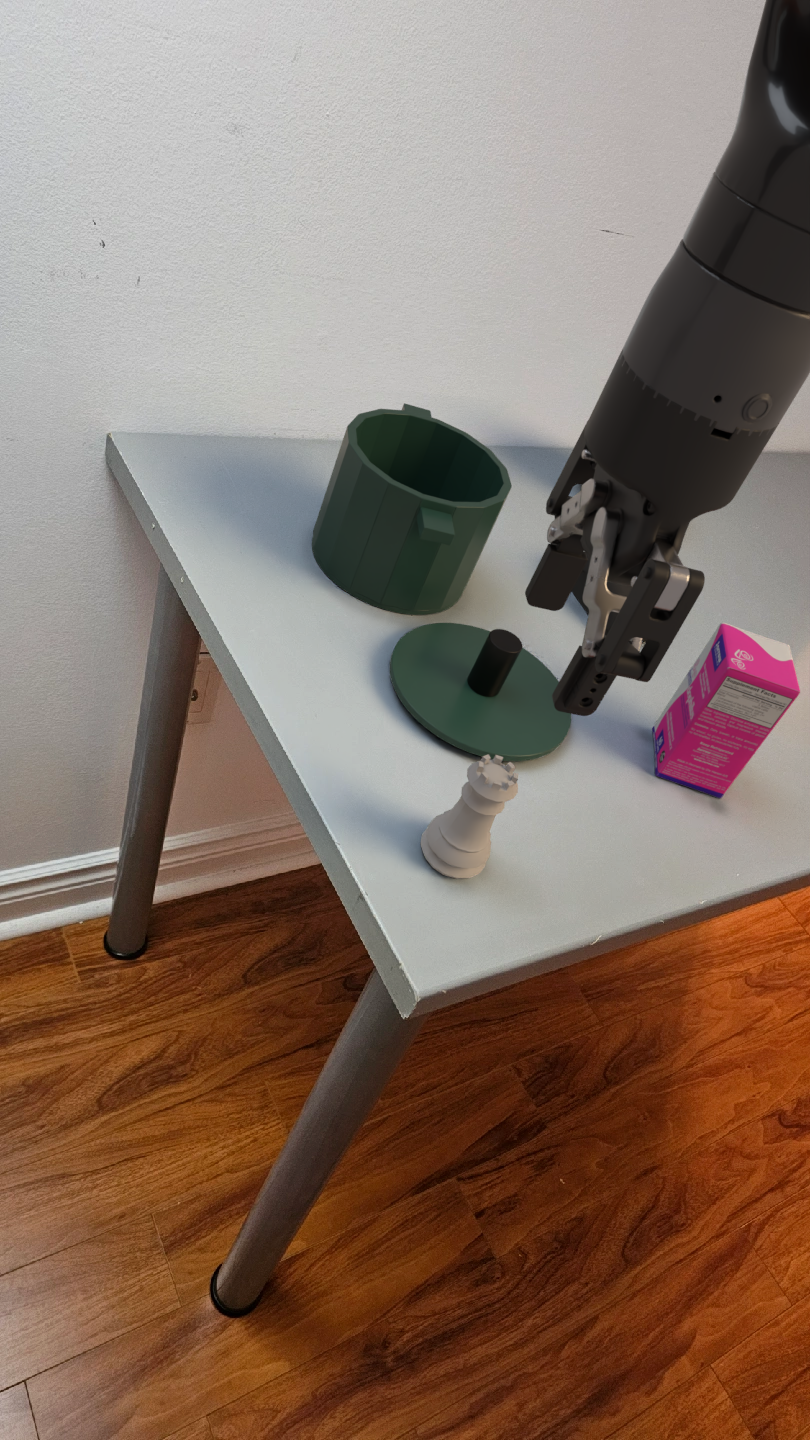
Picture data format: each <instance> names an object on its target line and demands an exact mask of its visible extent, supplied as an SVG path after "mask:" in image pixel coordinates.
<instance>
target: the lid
mask: <svg viewBox="0 0 810 1440" xmlns="http://www.w3.org/2000/svg"><path fill="white" fill-rule="evenodd" d="M389 676H390V682H391V684H392V687H393V689H394V692H395V693H396V695H397V698H398V699H399V701H400V702H401V704H402V705H403V706H404V708H405V709H406V710H407V712H408V713H409V714H410V715H411V716H412V717H413V718H414V719H415V720H416V721H417V722H418V723H419V724H421V725H422V727H424V728H425V729H427V730H428V731H429V732H430V733H432V734H433V735H434V736H436V737H437V738H440V740H442V741H444V742H446V743H448V744H450V745H451V746H452V747H453V746H454V747H455V748H457V749H459V750H462V751H464V752H467V753H469V754H471V755H475V756H479V757H481V758H482V757H483V756H485V755H488V754H489V756H490V757H491V758H490V760H493V759H494V757H495V755H498V756H501V757H503V760H502V761H503V762H526V761H532V760H533V761H534V760H538V759H540V758H543V757H545V756H547V755H549V754H551V753H553V752H554V751H555V750H557V749H558V748H559V747H560V746H561V744H562V743H563V742H564V740H565V739H566V737H567V735H568V733H569V731H570V728H571V725H572V714H570V713H565V712H560V711H557V710H556V709H555V707H554V703H553V699H552V694H553V692H554V690H555V689H556V687H557V685H558V683H559V681H560V680H558V678H557V677H556V676H555V675H554V674H553V672H552V671H551V670H550V669H549V668H548V667H547V666H546V665H545V664H544V663H543V662H542V661H541V660H540V659H539V658H537V657H536V656H535V655H534V654H532V653H531V652H530V651H528V650H527V649H526V648H524V647H523V642H522V641H521V638H520V637H518V636H517V635H516V634H515V633H512V632H511V631H509V630H507V629H503V628H494V629H492V630H491V631H490V630H489V629H485V628H482V627H478V626H474V625H471V624H470V625H469V624H464V623H456V622H435V623H434V622H433V623H428V624H424V625H420V626H417V627H415V628H413V629H411V630H409V631H407V632H406V633H405V634H404V635H403V636H402V637H400V638H399V640H397V642H396V643H395V646H394V648H393V650H392V653H391V655H390V660H389ZM502 761H501V762H502Z"/></svg>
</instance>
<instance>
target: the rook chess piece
mask: <svg viewBox="0 0 810 1440" xmlns="http://www.w3.org/2000/svg"><path fill="white" fill-rule="evenodd" d="M490 758H491V757H490V756H489V754H488V755H485V756H483V757H481V759H480V760H478V761H475V762H472V763H471V764H470V765H469V766H468V768H467V770H466V778H467V781H466V782H465V783H464V784H463V786H462V787H461V791H460V792H461V793H460V794H461V795H460V797H459V799H458V801H457V802H455V804H454V805H453V807H452V808H450V809H448V810H446V811H444V812H443V813H441V814H438V815H436V816H435V817H434V818H433V819H432V820H431V821H430V822H429V824H428V825H427V827H426V828H425V830H424V831H423V832H422V834H421V837H420V848H421V850H422V854H423V856H424V858H425V860H426V861H427V862H428V864H429V865H430V866H431V867H432V869H434V870H435V871H436V872H438V873H440V874H441V875H443V876H445V877H448V878H452V879H471V878H473V877H475V876H477V875H480V874H481V873H482V872H483V870H484V869H485V867H486V865H487V862H488V860H489V858H490V857H491V852H492V851H491V850H492V841H491V837H492V833H491V829H492V826H493V824H494V822H495V819H496V816H497V815H499V814H501V813H502V812H503V810H504V809H505V803H507V802H509V801H512V800H513V799H515V798H516V796H517V795H518V793H519V785H518V781H519V773H518V772H514V771H515V769H516V766H515V765H514V764H513V763H512V761H508V763H507V764H504V763H502V760H503V757H501V756H498V755H495V757H494V759H490Z"/></svg>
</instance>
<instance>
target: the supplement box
mask: <svg viewBox="0 0 810 1440" xmlns="http://www.w3.org/2000/svg"><path fill="white" fill-rule="evenodd" d="M800 694H801V689H800V685H799V681H798V676H797V671H796V667H795V663H794V659H793V654H792V650H791V646H790V645H789V644H788V643H784V642H781V641H778V640H776V639H773V638H769V637H766V636H763V635H760V634H757V633H755V632H752V631H749V630H746V629H743V628H741V627H738V626H736V625H733V624H730V623H727V622H723V621H721V622H720V623H719V624H718V626H717V628H716V629H715V631H714V632H713V634H712V635H711V637H710V639H709V640H708V642H707V643H706V644H705V646H704V648H702V651H701V652H700V653H699V655H698V657H697V658H696V660H695V661H694V663H693V665H692V666H691V667H690V669H689V670H688V672H687V674H686V675H685V677H684V678H683V680H682V681H681V682H680V684H679V685H678V687H677V689H676V690H675V692H674V694H673V695H672V696H671V698H670V699H669V701H668V702H667V704H666V706H665V707H664V709H663V710H662V712H661V714H660V715H659V717H658V718H657V719H656V721H655V723H654V724H653V726H652V727H651V732H652V737H653V738H652V739H653V750H654V775H655V776H656V777H657V778H660V779H663V780H667V781H669V782H672V783H675V784H677V785H681V786H684V787H686V788H688V789H691V790H695V791H698V792H701V793H704V794H706V795H709V796H711V797H714V798H716V799H722V798H723V797H724V795H725V794H726V792H727V791H728V789H729V788H731V786H732V785H733V783H734V782H735V780H736V779H737V778H738V776H739V775H740V774H741V772H742V771H743V770H744V768H745V767H746V766H747V764H748V763H749V762H750V761H751V759H752V758H753V757H754V755H755V754H756V752H757V751H758V750H759V748H760V747H761V746H762V744H763V743H764V741H765V740H766V739H767V737H768V736H769V735H770V734H771V732H772V731H773V730H774V728H775V727H776V726H777V725H778V723H779V722H780V721H781V720H782V718H783V717H784V715H785V714H786V713H787V711H788V710H789V709H790V707H791V706H792V705H793V703H794V702H795V701H796V699H797V698H798V697H799V695H800Z"/></svg>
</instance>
